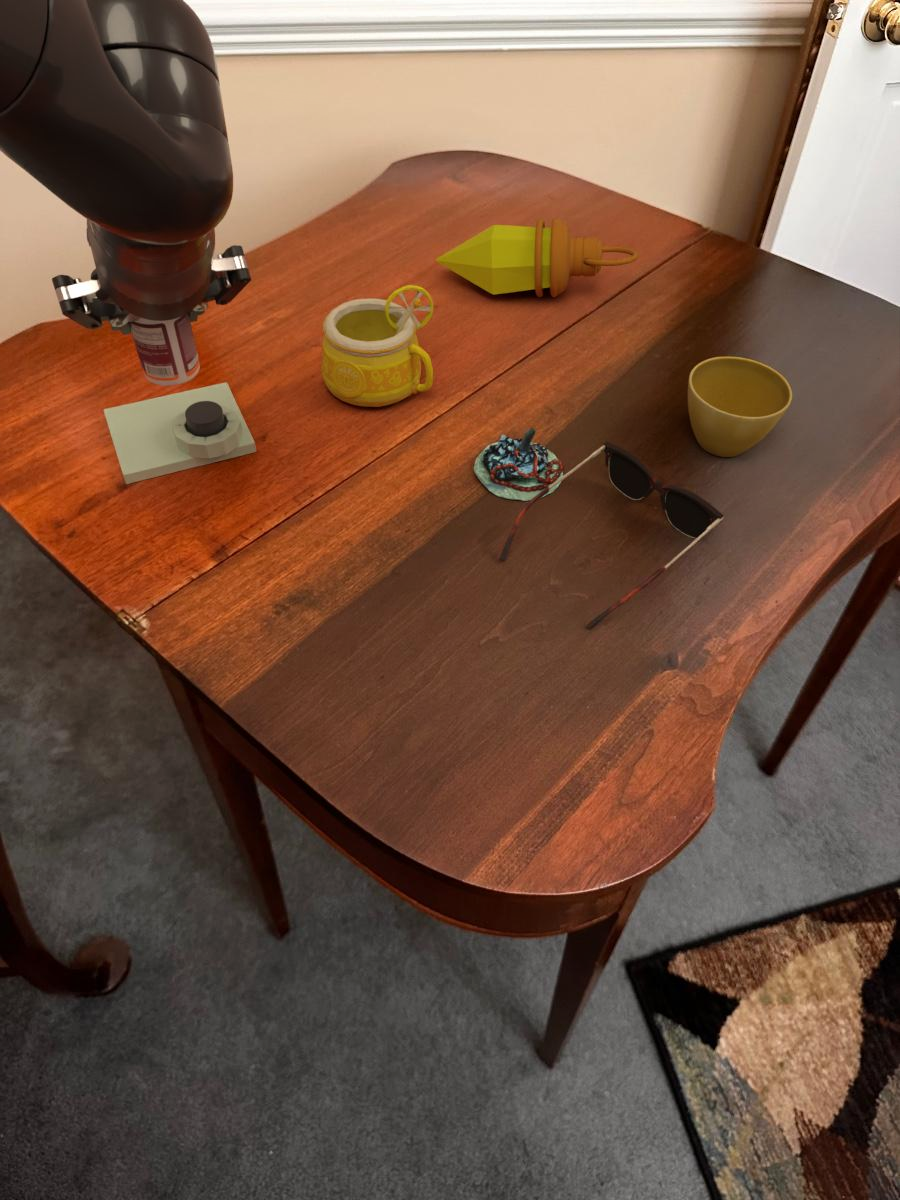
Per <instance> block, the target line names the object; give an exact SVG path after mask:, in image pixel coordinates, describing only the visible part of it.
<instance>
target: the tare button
mask: <svg viewBox="0 0 900 1200" xmlns="http://www.w3.org/2000/svg"><path fill="white" fill-rule="evenodd" d="M185 417H186V421H187V425H188V429H189V431H190V433H191V434H193V435H194V436H198V437H208V436H212V435H217V434H218V433H220V432H221V431H223V429H224V428H225V420H224V415H223V410H222V408H221V406H220V405H219V404H217V403H215V402H212V401H200V402H197V403H194V404H192V405H190V406H189V407H188V408H187V409H186V411H185Z"/></svg>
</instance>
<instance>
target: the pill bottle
mask: <svg viewBox="0 0 900 1200" xmlns="http://www.w3.org/2000/svg"><path fill="white" fill-rule="evenodd" d="M129 323H130V329H131V336H132V339H133V342H134V346H135V349H136V353H137V356H138V360H139V362H140V367H141V370H142V373H143V374H142V375H144V377H145V378H146V380H147V381H149V383H151V384H154V385H156V386H161V387H173V386H178V385H182V384H185V383H188V382H189V381H192V380H193V379H194V378H195V377H196V376H197V375H198V373H199V371H200V368H201V363H200V358H199V353H198V350H197V344H196V341H195V336H194V332H193V328H192V322H190V318H189V313H187V314H185V315H184V316H181V317H179V318H176V319H172V320H166V321H154V320H147V319H143V318H140V319H139V320H138V321H131V322H129Z"/></svg>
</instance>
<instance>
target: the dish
mask: <svg viewBox="0 0 900 1200" xmlns="http://www.w3.org/2000/svg"><path fill="white" fill-rule="evenodd" d="M536 432H537V430H536V429H535V428H534V427H531V428H530V429H527V430H525V433H524V436H523V437H522V438H513V439H512V438H510V437H509V436H506V435H505V434H501V435H500V437H499V441H497V442H492V443H490V444H488V445H487V446H486V447H485V448H483V450H482V451H481V452H480V454H478V456H477V457H476V459H475V461H474V464H473V471H474V474H475V476H476V478H477V479H478V480H479V481H480V482H481V483H482V485H483V486H484V487H485V488H486V489H487V490H488V491H489V492H491V493H492V494H493V495H495V496H496V497H499V498H503V499H508V500H519V501H523V502H525V501H526V502H528V501H530V500H531V499H533V498H534V497H535V496H536V495H538V494H539V493H540V492H542V491H543V490H544V489H546V488H547V487H548V486H550V485H551V484H553V483H554V482H556V481H557V480H558V479H560V478H561V477H562V476H564V471H563V469H564V465H563V464H562V461H561V460H559V459H558V458H557V456H556V455H555V454H554V452H552V451H551V450H549V449H548V447H546V446H545V445H542V444H541V443H540V442H537V443H536V442H532V441H533V439H534V436H535V434H536ZM561 484H562V481H561V482H559V483H558V484H557V485H555V486H554V487H553V488H551V489H550V490H549V492H548V493H547V494H545V495H544V496H543V497H541V498H540V499H542V498H544V497H547V496H548V495H550V494H552V493H553V492H555V490H556V489H557V488H559V486H560V485H561Z"/></svg>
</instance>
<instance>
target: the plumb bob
mask: <svg viewBox="0 0 900 1200" xmlns="http://www.w3.org/2000/svg"><path fill="white" fill-rule="evenodd" d="M550 226H551V227H546V225H545V219H544V218H543V217H539V218H537V219H536V224H535V226H522V225H510V224H493V225H491V226H490V227H488V228H486V229H484V230H483V231H481V232H479V233H478V234H476V235H474V236H472V237H471V238H469V239H467V240H465V241H464V242H462V243H461V244H459V245H457V246H456V247H454V248H452V249H450V250H448V251H447V252H445V253H444V254H442V255H440V256H438V257H437V258H434V261H435V262H437V263H438V264H440V266H443V267H444V268H447V269H448V270H449V271H452V272H454V273H455V274H457V275H458V276H460V277H462V278H464V280H467V281H469V282H471V283H472V284H474V285H475V286H478V287H479V288H481V289H482V290H484V291H485V292H487V293H489V294H491V295H500V294H501V295H502V294H509V293H516V292H517V293H518V292H523V291H531V290H532V291H533V290H535V295H536V297H537V298H541V297H543V295H544V289H547V288H549V289H550V291H549V292H550V296H551V297H553V298H555V297H557V296H558V295H560V294H562V293H563V292H564V291H565V290H566V289H567V288H568V285H569V282H570V279H571V277H577V278H578V277H596V276H597V274H599V273H600V271H601V269H602V267H616V266H624V265H628V264H631V263H634V262H635V261H636V260H638V257H639V252H637V251H636V250H635V249H632V248H628V247H623V246H603V245H602V242H601V240H600V239H598V237H597V236H587V237H586V236H585V237H583V238H582V237H575V238H574V237H572V235H571V231H570V228H569V225H568V224H567V223H566V222H565V221H564V220H562V219H561V218H559V217H557V216H556V217H553V218H552V220H551V225H550ZM603 253H621V254H627V255H630V257H629V256H628V257H625V258H622V259H612V260H611V259H610V260H604V259H603Z"/></svg>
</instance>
